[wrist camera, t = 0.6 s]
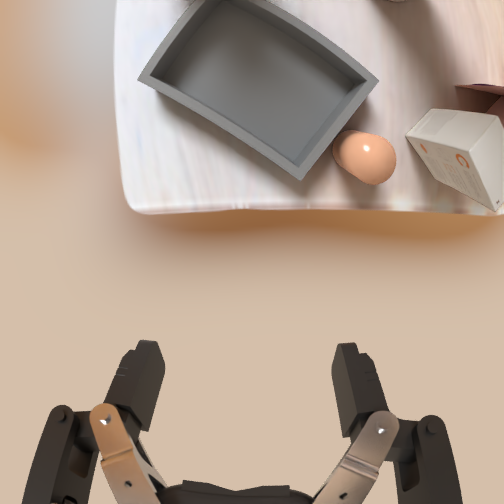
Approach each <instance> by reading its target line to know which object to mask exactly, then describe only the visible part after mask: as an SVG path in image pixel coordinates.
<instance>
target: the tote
mask: <svg viewBox="0 0 504 504" xmlns="http://www.w3.org/2000/svg"><path fill="white" fill-rule="evenodd" d="M137 80H138V81H140V82H142V83H144V84H146V85H148V86H149V87H151V88H153V89H155V90H157V91H159V92H161V93H163V94H164V95H166V96H168V97H170V98H172V99H173V100H175V101H177V102H179V103H181V104H182V105H184V106H186V107H188V108H189V109H191V110H193V111H194V112H196V113H198V114H200V115H201V116H203V117H205V118H206V119H208V120H210V121H211V122H213V123H214V124H216V125H218V126H219V127H221V128H222V129H224V130H226V131H227V132H229V133H230V134H232V135H234V136H235V137H237V138H238V139H240V140H241V141H243V142H244V143H246V144H247V145H249V146H250V147H252V148H253V149H255V150H256V151H258V152H259V153H261V154H262V155H264V156H265V157H267V158H268V159H270V160H271V161H273V162H274V163H275V164H277V165H278V166H280V167H281V168H282V169H284V170H285V171H287V172H288V173H289V174H291V175H292V176H294V177H295V178H296V179H298V180H299V181H301V180H302V179H303V177H304V176H305V175H306V174H307V172H308V171H309V170H310V168H311V167H312V166H313V165H314V163H315V162H316V161H317V160H318V158H319V157H320V156H321V154H322V153H323V152H324V151H325V149H326V148H327V147H328V145H329V144H330V143H331V142H332V140H333V139H334V138H335V137H336V135H337V134H338V133H339V131H340V130H341V129H342V128H343V126H344V125H345V124H346V122H347V121H348V120H349V119H350V117H351V116H352V115H353V114H354V112H355V111H356V110H357V109H358V107H359V106H360V105H361V103H362V102H363V101H364V100H365V98H366V97H367V96H368V95H369V93H370V92H371V91H372V89H373V88H374V87H375V86H376V84H377V83H378V82H379V80H378V79H377V78H376V77H375V76H374V75H372V74H371V73H370V72H369V71H368V70H367V69H366V68H364V67H363V66H362V65H361V64H360V63H359V62H357V61H356V60H355V59H354V58H352V57H351V56H350V55H349V54H347V53H346V52H345V51H344V50H342V49H341V48H340V47H338V46H337V45H336V44H334V43H333V42H332V41H330V40H329V39H327V38H326V37H325V36H323V35H322V34H320V33H319V32H317V31H316V30H315V29H313V28H312V27H310V26H309V25H307V24H305V23H304V22H302V21H301V20H299V19H298V18H296V17H294V16H293V15H291V14H289V13H288V12H286V11H284V10H282V9H281V8H279V7H277V6H275V5H274V4H272V3H270V2H268V1H266V0H195V1H194V2H193V3H192V4H191V5H190V7H189V8H188V9H187V10H186V11H185V13H184V14H183V15H182V16H181V17H180V19H179V20H178V21H177V22H176V24H175V25H174V26H173V28H172V29H171V30H170V32H169V33H168V34H167V36H166V37H165V38H164V40H163V41H162V43H161V44H160V45H159V47H158V48H157V50H156V51H155V53H154V54H153V56H152V57H151V59H150V60H149V62H148V63H147V65H146V66H145V68H144V69H143V71H142V73H141V74H140V76H139V78H138V79H137Z"/></svg>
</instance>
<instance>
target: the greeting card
mask: <svg viewBox="0 0 504 504" xmlns="http://www.w3.org/2000/svg"><path fill="white" fill-rule="evenodd" d="M455 86H461V87H466V88H471V89H476V90H480V91H485V92H489V93H493V94H497V95H501V97H500V98H499V99H498V100H497V101H496V102H495V103H494V104H493V106H492V107H491V108H490V109H489V110H488V111H487V112H486V113H485V114H490V115H496V116H498V117H499V119H500V121H501V123H502V125H503V128H504V87H501V86H495V85H488V84H472V85H455Z"/></svg>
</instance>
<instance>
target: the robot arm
mask: <svg viewBox="0 0 504 504" xmlns="http://www.w3.org/2000/svg"><path fill="white" fill-rule="evenodd" d="M389 1H394V2H402V1H406V0H389ZM164 374H165V362H164V360H163V357H162V354H161V351H160V348H159V346H158V343H157V342H156V341H148V340H140V341H139V342H138V345H137V347H136V349H135V350H129V351H128V352H127V353H126V354H125V356H123V358H122V360H121V362H120V364H119V368H118V369H117V371H116V375H115V376H114V379H113V381H112V383H111V386H110V388H109V391H108V393H107V396H106V398H105V400H104V402H103V403H102V404H99V405H97V406H95V407H94V408H93V409H92V411H81V412H73V411H72V409H71V408H70V407H68V406H66V405H59V406H57V407H55V408H54V409H52V411H51V412H50V414H49V417H48V420H47V422H46V425H45V427H44V430H43V433H42V436H41V439H40V441H39V444H38V447H37V450H36V453H35V457H34V460H33V463H32V466H31V469H30V473H29V477H28V480H27V484H26V488H25V492H24V496H23V501H22V504H88V499H89V494H90V489H91V484H92V480H93V475H94V471H95V466H96V462H97V458H98V454H99V451H100V452H101V455H102V458H103V460H101V467H102V469H103V472H104V474H105V477H106V479H107V481H108V484H109V486H110V488H111V490H112V492H113V494H114V497H115V499H116V501H117V503H118V504H362V502H363V501H364V499H365V498H366V496H367V495H368V493H369V491H370V490H371V488H372V486H373V484H374V483H375V481H376V479H377V477H378V475H379V473H378V471H379V468H380V466H381V465H382V463H383V461H393V464H394V470H395V478H396V486H397V495H398V504H463V502H462V496H461V490H460V484H459V480H458V474H457V470H456V465H455V461H454V457H453V453H452V448H451V445H450V441H449V438H448V434H447V430H446V427H445V424H444V422H443V420H442V419H441V418H439V417H438V416H435V415H428V416H425V417H423V418H422V419H421V420H420V421H409V420H402V419H399V418H397V417H396V416H395V415H394V414H392V413H391V412H390V411H389V409H388V406H387V403H386V400H385V396H384V393H383V390H382V387H381V383H380V381H379V377H378V374H377V373H376V368H375V365H374V362H373V360H372V359H371V358H370V357H369V356H368V355H367V353H361V354H359V352H358V348H357V345H356V344H355V343H341V344H338V345H337V349H336V352H335V356H334V360H333V364H332V380H333V385H334V390H335V396H336V400H337V407H338V412H339V418H340V424H341V430H342V436H343V438H345V437H350V439H351V445H350V446H349V448H348V450H347V451H346V453H345V454H344V456H343V457H342V459H341V460H340V462H339V463H338V465H337V466H336V468H335V469H334V470H333V472H332V473H331V475H330V476H329V477H328V479H327V480H326V481H325V483H324V484H323V485H322V486H321V488H320V489H319V490H318V491H317V493H316V494H315V495H314V497H313V498H312V497H311V496H309V495H307V494H305V493H302V492H299V491H296V490H291V489H289V488H290V487H289V485H284V486H260V487H255V488H251V489H245V490H239V491H232V490H229V489H225V488H222V487H219V486H216V485H213V484H209V483H203V482H194V481H187V480H183V483H182V484H180V485H174V486H170V487H168V486H167V484H166V483H165V481H164V480H163V478H162V477H161V476H160V474H159V473H158V472H157V470H156V469H155V467H154V465H153V463H152V462H151V460H150V458H149V456H148V454H147V452H146V450H145V448H144V446H143V444H142V442H141V440H140V438H139V433H140V430H142V431H147V432H148V431H149V427H150V424H151V420H152V416H153V413H154V409H155V405H156V402H157V398H158V395H159V391H160V388H161V384H162V381H163V377H164Z"/></svg>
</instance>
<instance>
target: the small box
mask: <svg viewBox="0 0 504 504" xmlns="http://www.w3.org/2000/svg"><path fill="white" fill-rule="evenodd" d="M405 136H406V138H407V139H408V141H409V142H410V143H411V145H412V146H413V147H414V149H415V150H416V152H417V153H418V154H419V156H420V157H421V159H422V160H423V162H424V163H425V165H426V166H427V168H428V169H429V171H430V172H431V174H432V175H433V177H434V178H435V180H438V181H440V182H442V183H444V184H446V185H448V186H450V187H452V188H454V189H456V190H458V191H459V192H461V193H463V194H465V195H467V196H468V197H470V198H472V199H474V200H476V201H477V202H479V203H481V204H482V205H484V206H486V207H488V208H489V209H491V210H492V211H494V212H496V211H497V209H498V208H499V207H500V206H501V205H502V204H503V202H504V128H503V125H502V123H501V121H500V119H499V117H498V116H496V115H490V114H483V113H476V112H468V111H460V110H450V109H436V108H431V109H430V110H429V111H428V112H427V113H426V114H425V115H424V117H423V118H422V119H421V120H420V121H419V122H418V123H417V124H416V125H415V126H414V127H413V128H412V129H411V130H410V131H409V132H408V133H407V134H406V135H405Z"/></svg>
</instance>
